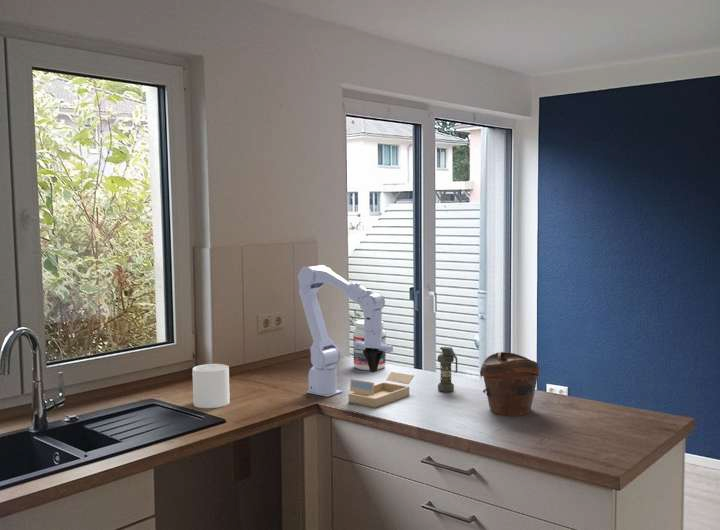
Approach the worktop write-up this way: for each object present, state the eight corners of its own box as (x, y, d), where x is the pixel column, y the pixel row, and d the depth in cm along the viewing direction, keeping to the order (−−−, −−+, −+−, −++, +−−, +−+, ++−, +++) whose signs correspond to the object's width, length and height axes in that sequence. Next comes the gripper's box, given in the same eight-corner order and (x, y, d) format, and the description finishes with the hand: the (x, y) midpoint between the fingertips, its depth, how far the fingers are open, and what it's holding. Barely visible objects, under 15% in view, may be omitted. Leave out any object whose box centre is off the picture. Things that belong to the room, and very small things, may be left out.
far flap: (391, 371, 253) (391, 372, 253) (385, 379, 251) (386, 380, 251) (413, 375, 247) (414, 376, 247) (408, 383, 245) (408, 384, 245)
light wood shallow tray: (348, 402, 236) (348, 393, 236) (383, 390, 251) (383, 382, 251) (375, 408, 229) (375, 398, 229) (409, 395, 244) (409, 386, 244)
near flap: (350, 390, 236) (349, 391, 235) (351, 378, 235) (350, 378, 235) (373, 395, 230) (372, 395, 229) (374, 382, 230) (373, 382, 229)
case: (499, 398, 239) (499, 344, 237) (553, 410, 225) (553, 353, 223) (466, 410, 227) (465, 353, 225) (521, 423, 212) (521, 363, 211)
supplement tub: (351, 370, 282) (350, 324, 281) (356, 363, 295) (356, 319, 293) (383, 371, 280) (383, 324, 279) (387, 364, 293) (387, 319, 291)
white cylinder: (237, 403, 238) (236, 367, 237) (207, 410, 229) (206, 373, 228) (215, 396, 246) (214, 362, 245) (186, 404, 237) (185, 368, 236)
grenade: (436, 392, 248) (435, 348, 247) (441, 387, 254) (440, 345, 253) (454, 393, 246) (454, 350, 245) (458, 389, 252) (458, 346, 250)
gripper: (348, 330, 237) (348, 370, 238) (383, 334, 228) (384, 376, 229) (361, 327, 243) (361, 366, 244) (396, 331, 234) (396, 372, 235)
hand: (373, 371), depth 237 cm, fingers closed
